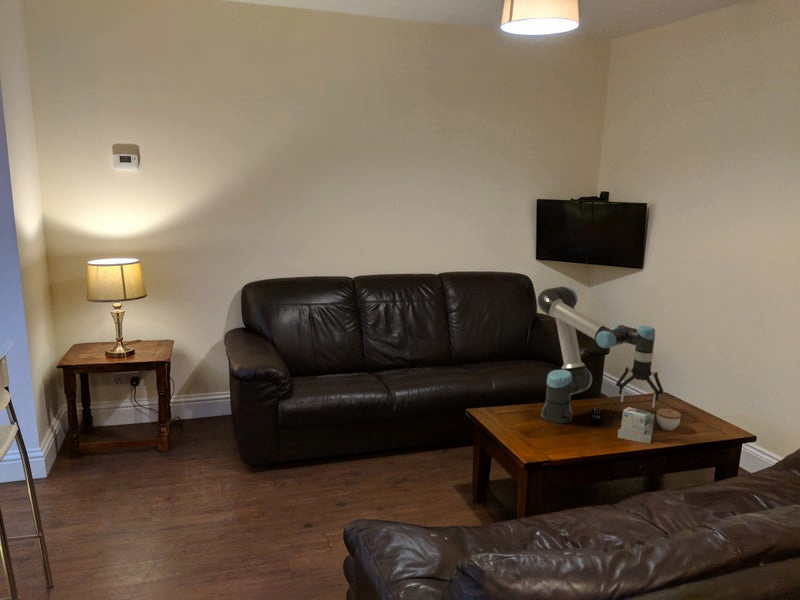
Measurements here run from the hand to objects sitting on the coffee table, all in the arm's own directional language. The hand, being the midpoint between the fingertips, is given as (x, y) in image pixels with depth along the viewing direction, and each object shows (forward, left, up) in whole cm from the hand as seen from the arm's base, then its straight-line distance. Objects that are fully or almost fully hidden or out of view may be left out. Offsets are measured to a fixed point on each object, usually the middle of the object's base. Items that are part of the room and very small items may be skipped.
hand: (637, 403), depth 277 cm
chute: (0, 0, -15) cm, 15 cm away
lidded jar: (+13, +16, -15) cm, 26 cm away
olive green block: (0, +12, -15) cm, 19 cm away
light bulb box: (0, 0, -14) cm, 14 cm away
